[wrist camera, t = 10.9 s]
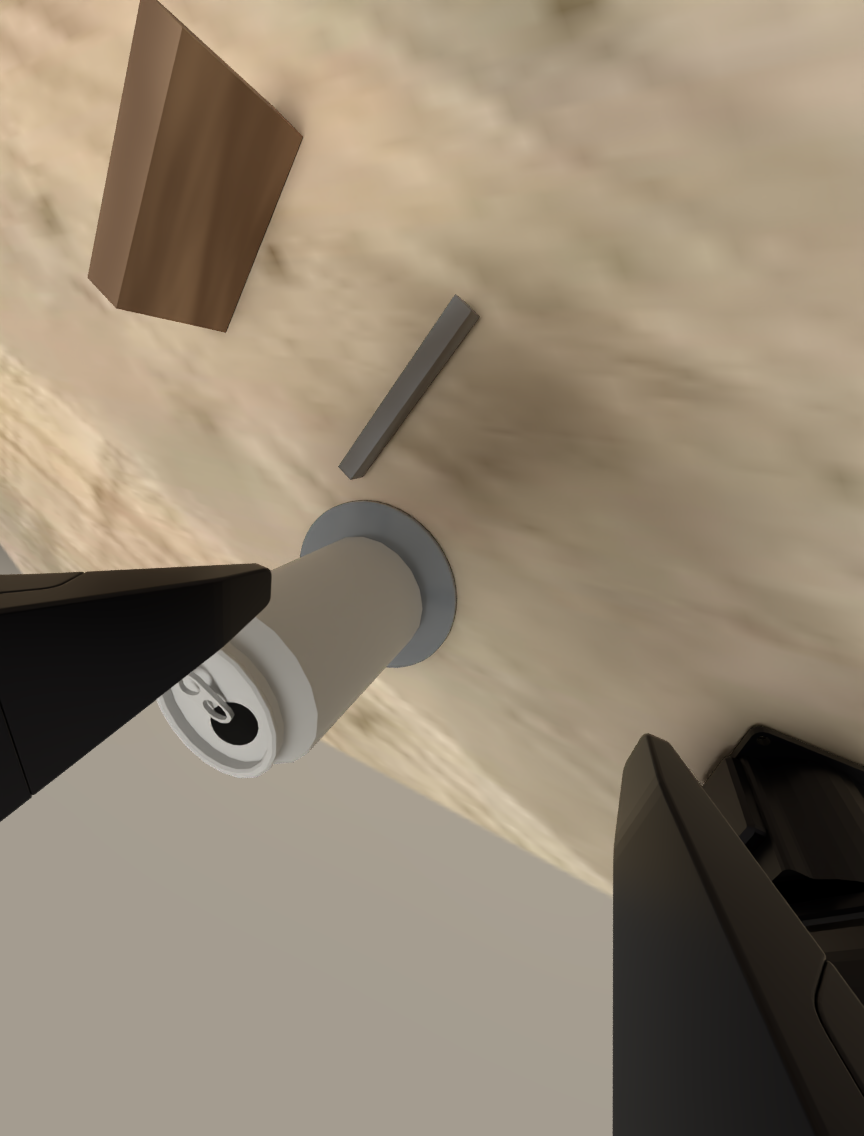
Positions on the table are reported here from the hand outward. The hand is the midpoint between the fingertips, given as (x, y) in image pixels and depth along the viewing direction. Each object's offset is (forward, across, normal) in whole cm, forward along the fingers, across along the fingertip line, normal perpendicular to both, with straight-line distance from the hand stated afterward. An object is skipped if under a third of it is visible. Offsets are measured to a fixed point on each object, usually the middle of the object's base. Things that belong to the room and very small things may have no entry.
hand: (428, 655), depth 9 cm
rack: (+13, +13, -7) cm, 20 cm away
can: (+13, +8, +7) cm, 17 cm away
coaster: (+13, +8, +7) cm, 17 cm away
